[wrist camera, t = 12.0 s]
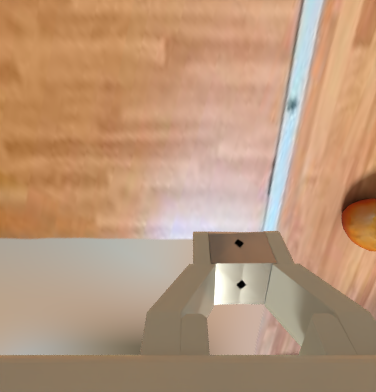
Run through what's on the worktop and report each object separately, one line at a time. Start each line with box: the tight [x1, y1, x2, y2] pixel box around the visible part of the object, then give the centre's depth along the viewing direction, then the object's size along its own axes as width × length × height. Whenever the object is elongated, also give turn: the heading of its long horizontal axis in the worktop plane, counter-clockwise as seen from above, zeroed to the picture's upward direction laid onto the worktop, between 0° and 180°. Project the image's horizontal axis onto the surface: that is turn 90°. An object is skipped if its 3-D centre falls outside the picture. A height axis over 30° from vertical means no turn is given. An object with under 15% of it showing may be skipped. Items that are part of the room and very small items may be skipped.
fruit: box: [342, 198, 376, 251], centre depth 41 cm, size 8×8×8 cm
